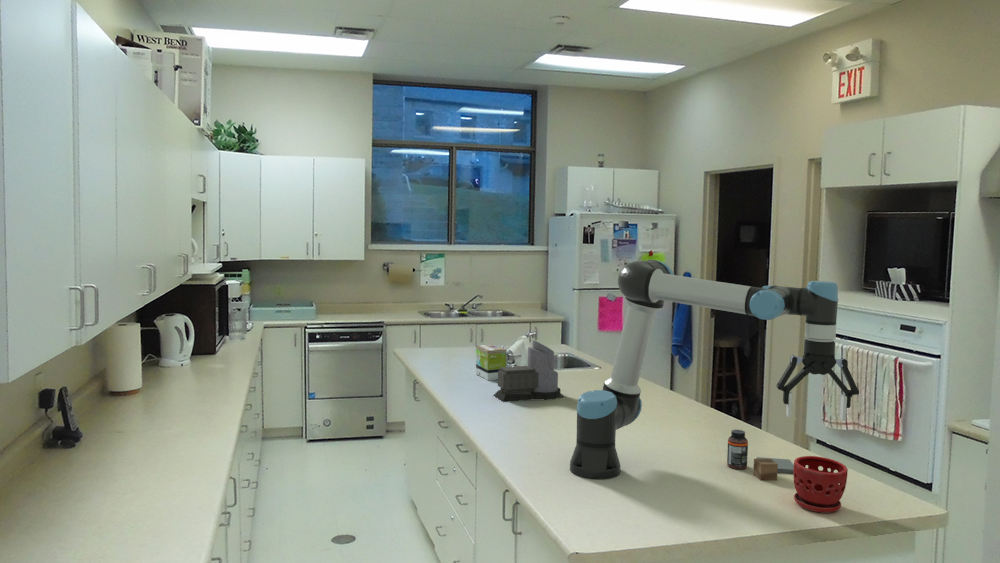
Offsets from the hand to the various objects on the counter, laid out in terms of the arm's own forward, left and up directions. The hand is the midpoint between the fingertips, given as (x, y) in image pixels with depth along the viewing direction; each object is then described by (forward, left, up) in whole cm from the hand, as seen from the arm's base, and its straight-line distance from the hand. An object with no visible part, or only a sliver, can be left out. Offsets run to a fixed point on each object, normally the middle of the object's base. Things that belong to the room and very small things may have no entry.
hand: (815, 418), depth 194 cm
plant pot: (-2, -1, -24) cm, 24 cm away
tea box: (+137, +116, -24) cm, 181 cm away
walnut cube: (+19, +9, -24) cm, 31 cm away
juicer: (+102, +91, -24) cm, 139 cm away
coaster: (+29, +4, -24) cm, 38 cm away
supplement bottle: (+27, +16, -24) cm, 39 cm away
